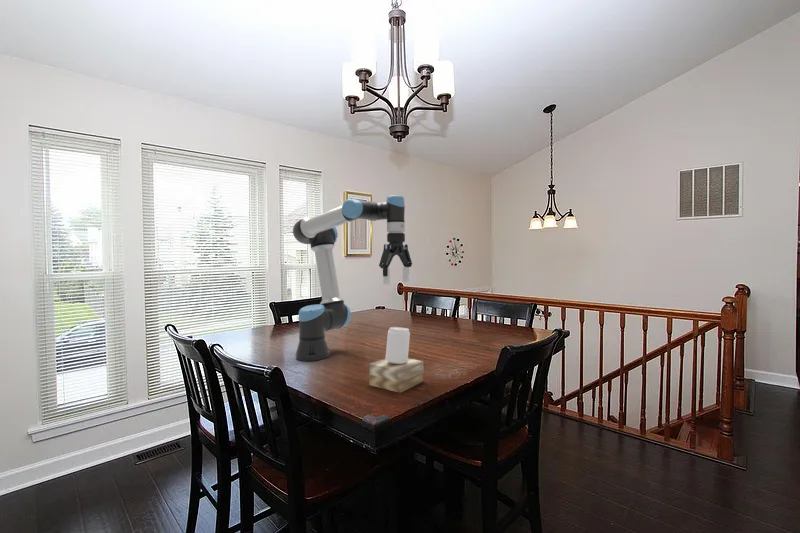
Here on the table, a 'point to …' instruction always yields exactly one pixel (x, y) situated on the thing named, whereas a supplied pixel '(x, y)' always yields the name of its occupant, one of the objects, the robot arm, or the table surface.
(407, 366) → the top slab
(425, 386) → the table surface
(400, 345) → the beverage can
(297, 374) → the table surface
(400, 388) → the bottom slab
